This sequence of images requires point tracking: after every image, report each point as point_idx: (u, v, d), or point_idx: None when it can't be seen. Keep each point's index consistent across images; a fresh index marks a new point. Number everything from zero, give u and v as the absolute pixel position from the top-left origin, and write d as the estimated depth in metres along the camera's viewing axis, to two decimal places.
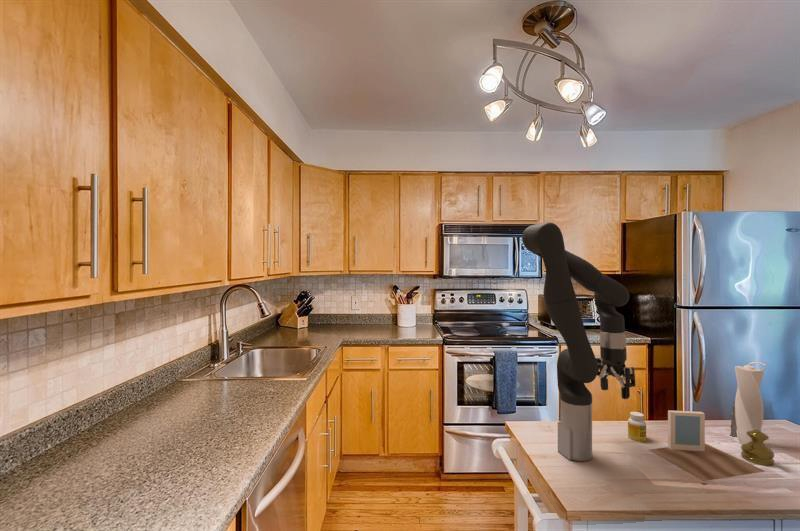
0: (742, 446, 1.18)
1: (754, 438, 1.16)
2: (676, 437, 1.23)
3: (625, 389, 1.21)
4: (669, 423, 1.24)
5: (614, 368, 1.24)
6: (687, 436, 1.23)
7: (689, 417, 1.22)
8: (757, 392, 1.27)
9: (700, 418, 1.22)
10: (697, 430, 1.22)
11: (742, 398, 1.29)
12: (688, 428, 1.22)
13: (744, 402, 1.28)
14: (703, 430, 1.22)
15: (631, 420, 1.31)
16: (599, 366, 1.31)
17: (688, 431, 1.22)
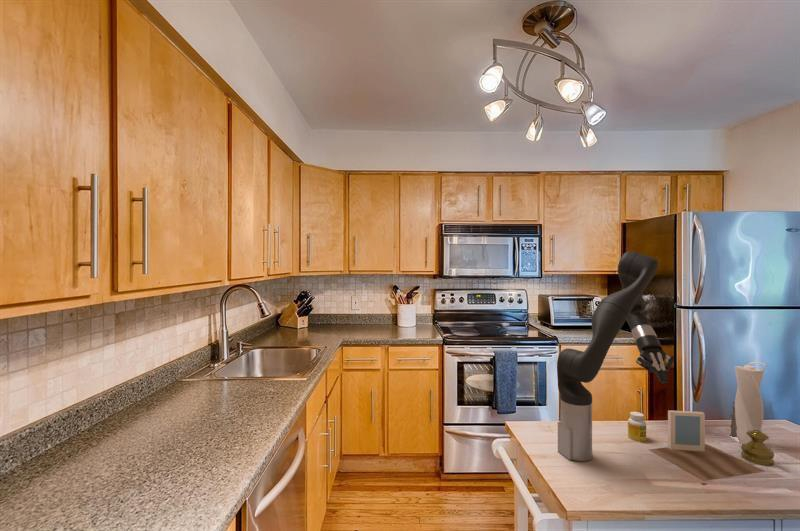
0: (742, 446, 1.18)
1: (754, 438, 1.16)
2: (676, 437, 1.23)
3: None
4: (669, 423, 1.24)
5: None
6: (687, 436, 1.23)
7: (689, 417, 1.22)
8: (757, 392, 1.27)
9: (700, 418, 1.22)
10: (697, 430, 1.22)
11: (742, 398, 1.29)
12: (688, 428, 1.22)
13: (744, 402, 1.28)
14: (703, 430, 1.22)
15: (631, 420, 1.31)
16: (667, 363, 1.39)
17: (688, 431, 1.22)
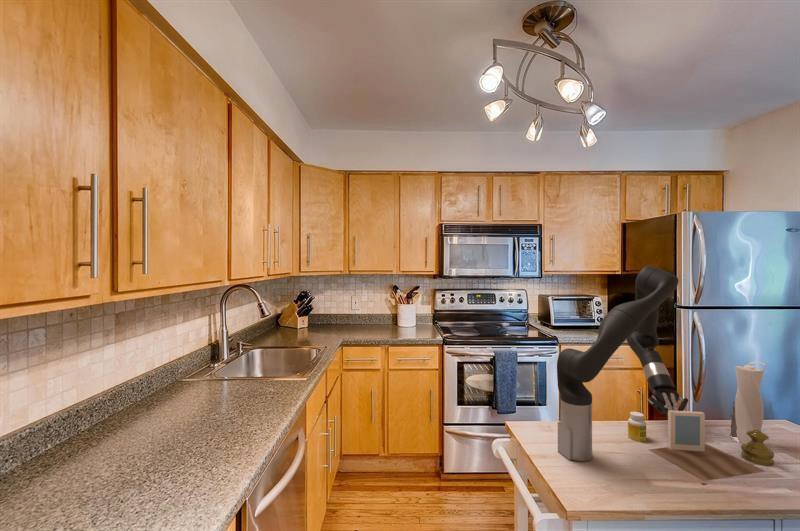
0: (742, 446, 1.18)
1: (754, 438, 1.16)
2: (676, 437, 1.23)
3: None
4: (669, 423, 1.24)
5: None
6: (687, 436, 1.23)
7: (689, 417, 1.22)
8: (757, 392, 1.27)
9: (700, 418, 1.22)
10: (697, 430, 1.22)
11: (742, 398, 1.29)
12: (688, 428, 1.22)
13: (744, 402, 1.28)
14: (703, 430, 1.22)
15: (631, 420, 1.31)
16: (680, 405, 1.33)
17: (688, 431, 1.22)
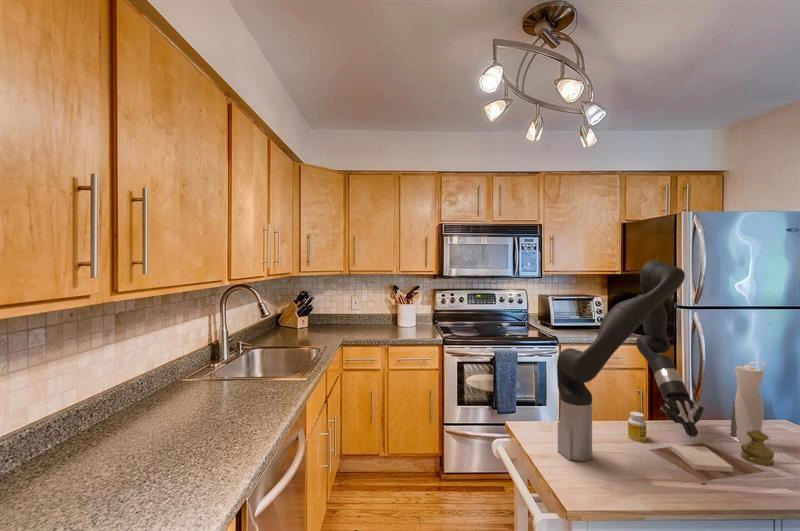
0: (742, 446, 1.18)
1: (754, 438, 1.16)
2: None
3: None
4: (686, 460, 1.15)
5: None
6: None
7: None
8: (757, 392, 1.27)
9: None
10: None
11: (742, 398, 1.29)
12: None
13: (744, 402, 1.28)
14: None
15: (631, 420, 1.31)
16: (695, 413, 1.26)
17: None
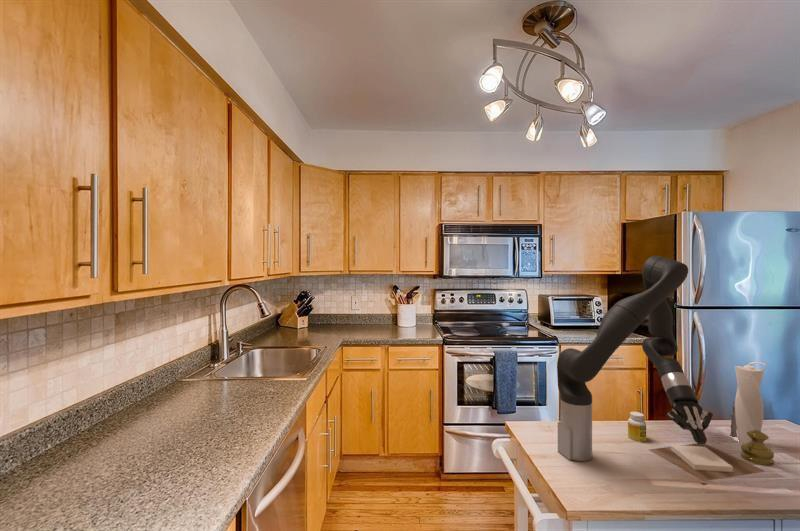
0: (742, 446, 1.18)
1: (754, 438, 1.16)
2: None
3: None
4: (686, 460, 1.15)
5: None
6: None
7: None
8: (757, 392, 1.27)
9: None
10: None
11: (742, 398, 1.29)
12: None
13: (744, 402, 1.28)
14: None
15: (631, 420, 1.31)
16: (703, 420, 1.20)
17: None
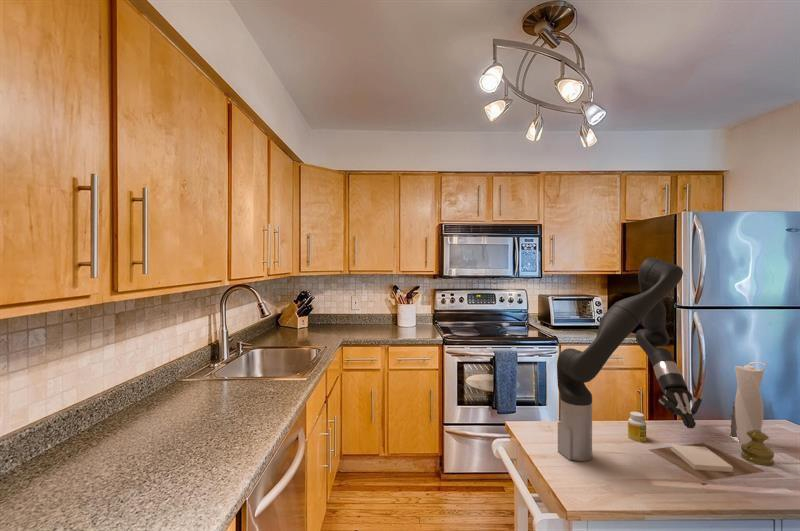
0: (742, 446, 1.18)
1: (754, 438, 1.16)
2: None
3: None
4: (686, 460, 1.15)
5: None
6: None
7: None
8: (757, 392, 1.27)
9: None
10: None
11: (742, 398, 1.29)
12: None
13: (744, 402, 1.28)
14: None
15: (631, 420, 1.31)
16: (693, 405, 1.27)
17: None
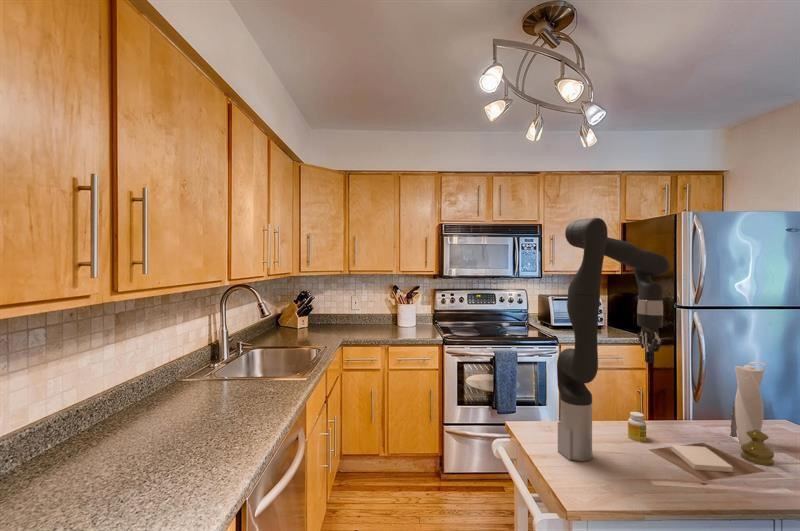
0: (742, 446, 1.18)
1: (754, 438, 1.16)
2: None
3: None
4: (686, 460, 1.15)
5: None
6: None
7: None
8: (757, 392, 1.27)
9: None
10: None
11: (742, 398, 1.29)
12: None
13: (744, 402, 1.28)
14: None
15: (631, 420, 1.31)
16: None
17: None
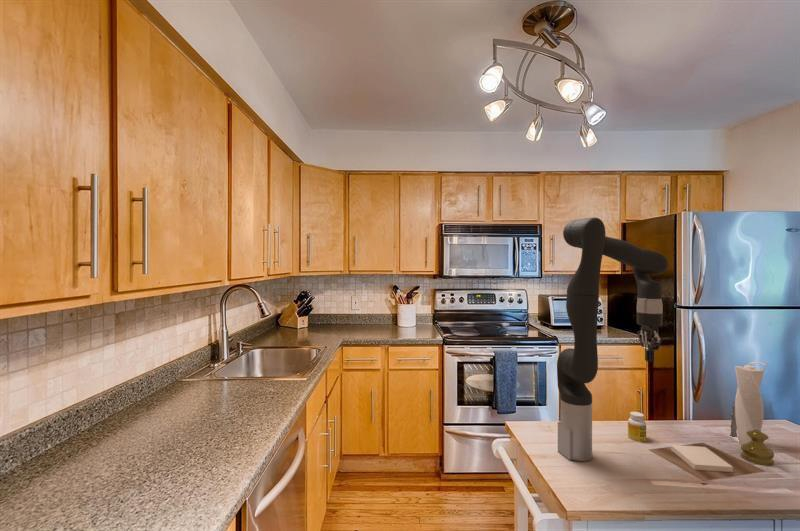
0: (742, 446, 1.18)
1: (754, 438, 1.16)
2: None
3: None
4: (686, 460, 1.15)
5: None
6: None
7: None
8: (757, 392, 1.27)
9: None
10: None
11: (742, 398, 1.29)
12: None
13: (744, 402, 1.28)
14: None
15: (631, 420, 1.31)
16: None
17: None
